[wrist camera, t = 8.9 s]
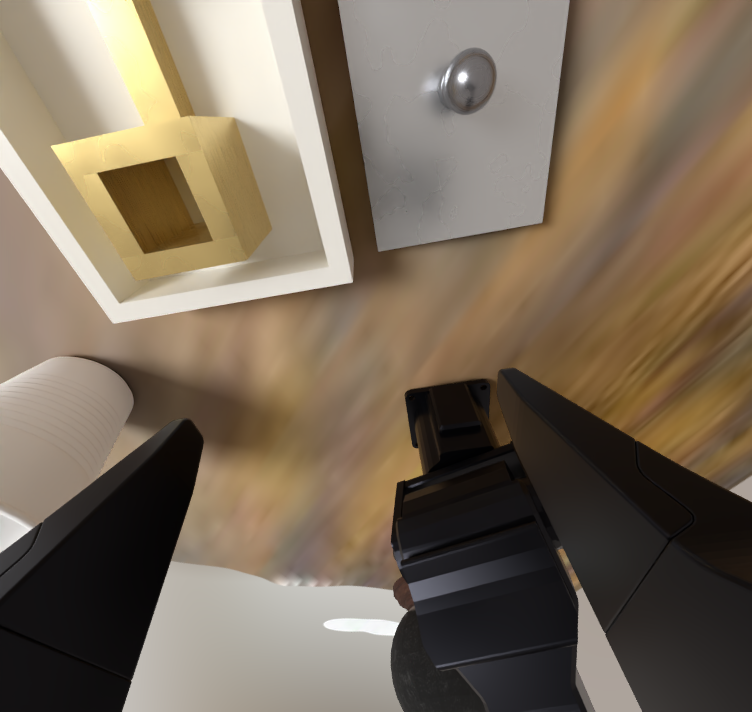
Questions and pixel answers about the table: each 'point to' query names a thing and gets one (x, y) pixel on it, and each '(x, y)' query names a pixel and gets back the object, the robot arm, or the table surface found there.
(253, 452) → the table surface
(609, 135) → the table surface
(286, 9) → the bin
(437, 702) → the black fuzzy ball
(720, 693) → the robot arm
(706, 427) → the table surface
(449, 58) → the stud plate
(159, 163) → the strut
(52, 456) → the cup
